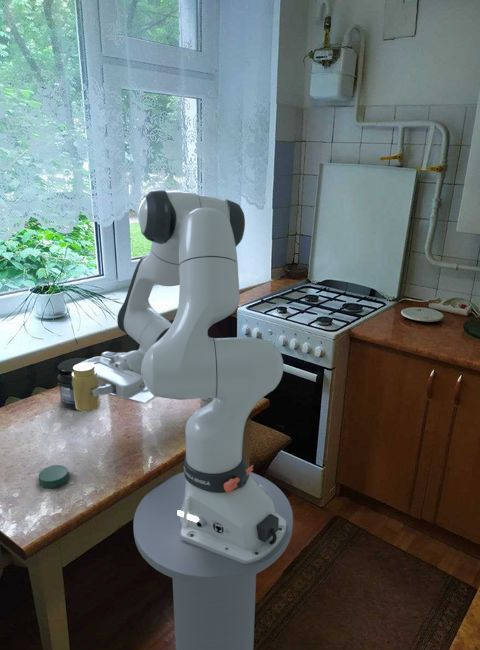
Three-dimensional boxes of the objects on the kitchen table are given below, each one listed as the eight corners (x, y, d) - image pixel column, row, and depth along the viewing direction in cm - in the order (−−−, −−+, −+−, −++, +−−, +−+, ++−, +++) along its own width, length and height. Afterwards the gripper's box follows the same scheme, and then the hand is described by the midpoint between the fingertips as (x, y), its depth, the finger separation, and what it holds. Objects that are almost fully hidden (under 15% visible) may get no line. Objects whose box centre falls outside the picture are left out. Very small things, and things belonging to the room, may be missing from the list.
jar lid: (37, 477, 112) (35, 470, 111) (65, 468, 115) (64, 461, 114) (43, 491, 107) (41, 484, 106) (71, 482, 110) (71, 475, 110)
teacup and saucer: (120, 388, 154) (119, 376, 152) (135, 378, 160) (135, 367, 159) (143, 394, 151) (143, 382, 149) (158, 383, 157) (158, 372, 156)
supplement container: (99, 392, 151) (96, 355, 146) (98, 408, 142) (94, 370, 137) (62, 395, 148) (58, 358, 144) (59, 412, 139) (53, 373, 134)
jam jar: (105, 404, 123) (101, 366, 119) (85, 413, 118) (80, 374, 114) (90, 397, 126) (86, 359, 122) (70, 406, 122) (65, 367, 117)
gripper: (155, 392, 126) (111, 413, 115) (104, 370, 137) (59, 388, 126) (154, 369, 123) (109, 389, 113) (102, 349, 134) (56, 366, 124)
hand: (82, 388), depth 120 cm, fingers closed on jam jar, 6 cm apart
